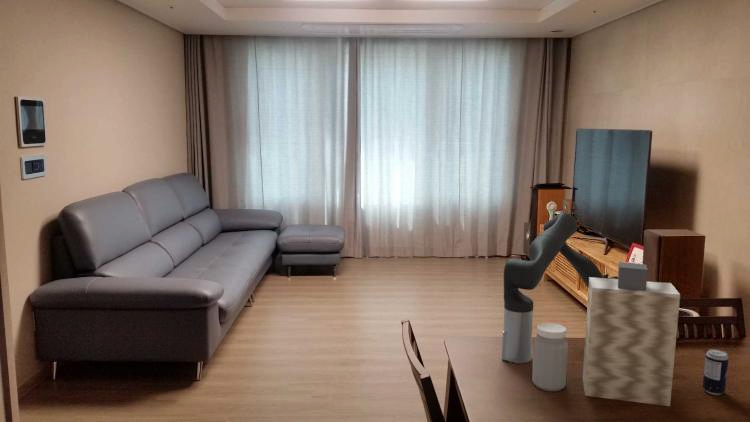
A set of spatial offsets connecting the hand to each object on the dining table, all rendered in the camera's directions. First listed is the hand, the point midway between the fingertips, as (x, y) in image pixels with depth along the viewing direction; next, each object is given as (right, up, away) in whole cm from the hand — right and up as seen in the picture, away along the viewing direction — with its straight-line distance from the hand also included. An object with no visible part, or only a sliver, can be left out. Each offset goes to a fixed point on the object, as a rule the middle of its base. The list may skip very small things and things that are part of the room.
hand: (622, 277), depth 179 cm
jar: (-26, -31, -10) cm, 42 cm away
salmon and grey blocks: (-4, +1, -14) cm, 14 cm away
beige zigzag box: (-5, -31, -14) cm, 35 cm away
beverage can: (+21, -32, -14) cm, 40 cm away
